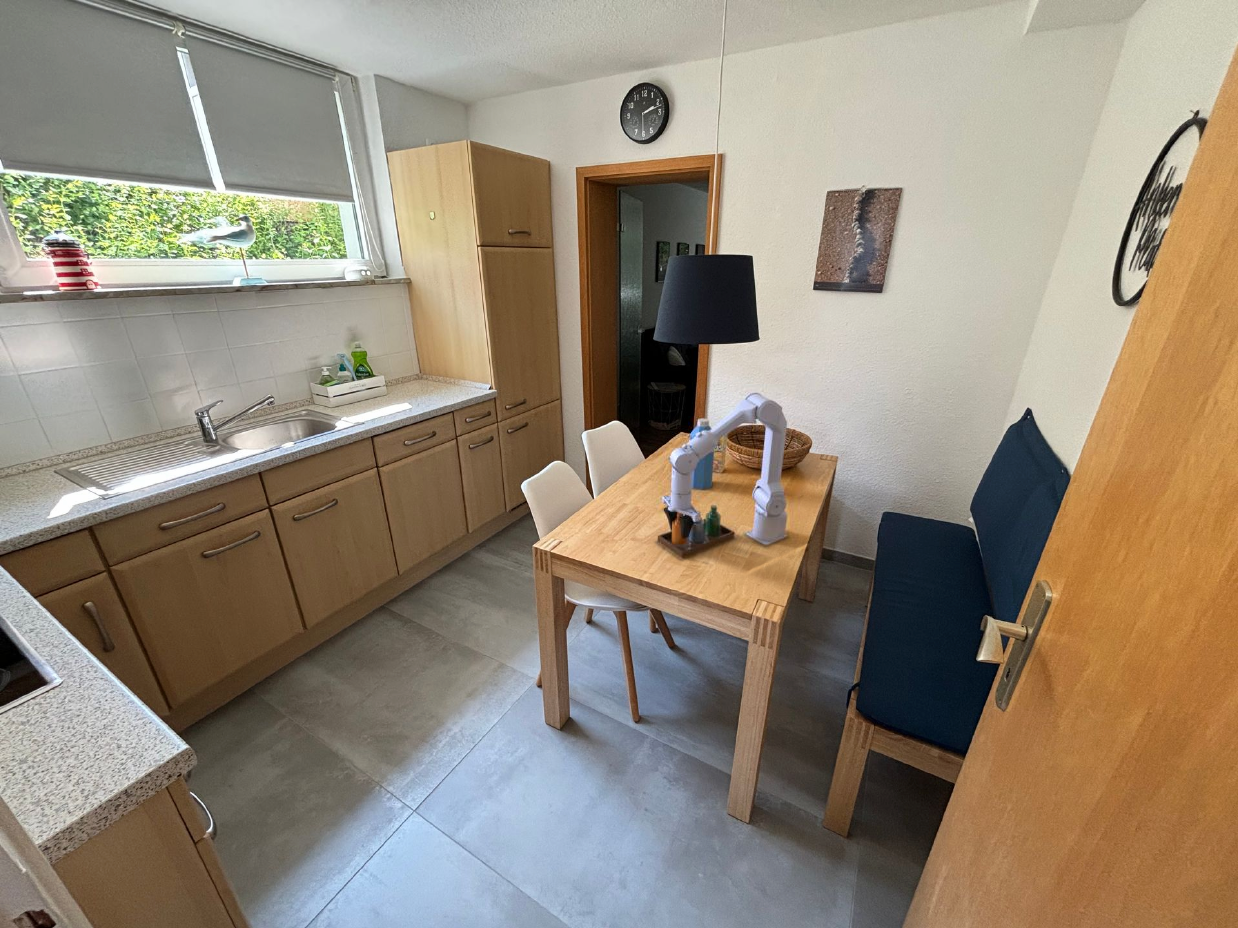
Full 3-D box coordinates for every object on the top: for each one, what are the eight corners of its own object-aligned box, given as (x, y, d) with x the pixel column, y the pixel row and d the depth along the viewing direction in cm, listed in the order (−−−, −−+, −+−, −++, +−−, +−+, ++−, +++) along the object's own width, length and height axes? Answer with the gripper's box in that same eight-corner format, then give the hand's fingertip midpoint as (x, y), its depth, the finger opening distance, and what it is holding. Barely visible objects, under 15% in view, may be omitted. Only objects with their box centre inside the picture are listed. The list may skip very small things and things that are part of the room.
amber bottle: (680, 535, 147) (681, 508, 143) (690, 542, 143) (691, 514, 140) (668, 539, 144) (669, 512, 141) (678, 546, 141) (679, 518, 138)
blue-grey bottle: (696, 533, 151) (698, 507, 147) (706, 540, 147) (708, 513, 144) (685, 538, 148) (686, 511, 145) (695, 544, 145) (696, 517, 142)
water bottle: (695, 477, 192) (698, 414, 183) (717, 483, 186) (721, 419, 177) (682, 485, 185) (685, 420, 176) (704, 491, 180) (708, 425, 170)
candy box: (700, 469, 199) (702, 433, 194) (703, 465, 203) (705, 430, 197) (721, 473, 195) (724, 436, 190) (724, 469, 199) (727, 433, 193)
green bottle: (712, 528, 154) (714, 501, 151) (722, 533, 151) (724, 507, 147) (701, 532, 152) (703, 505, 148) (711, 538, 148) (713, 511, 145)
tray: (708, 523, 157) (708, 517, 157) (733, 538, 149) (734, 532, 148) (657, 542, 147) (657, 535, 146) (682, 559, 138) (682, 552, 138)
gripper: (654, 485, 142) (653, 527, 147) (687, 503, 130) (685, 548, 135) (673, 479, 145) (671, 520, 150) (707, 497, 134) (704, 541, 139)
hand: (679, 533), depth 143 cm, fingers closed on amber bottle, 4 cm apart
